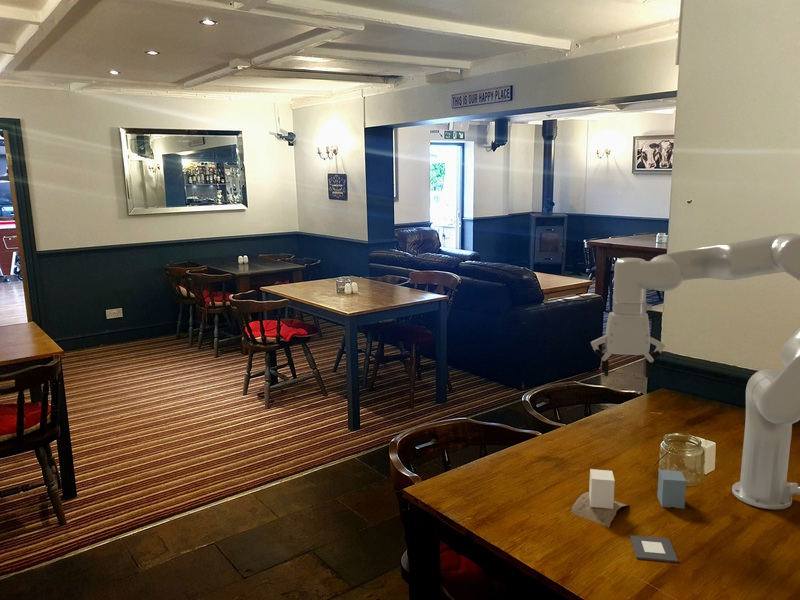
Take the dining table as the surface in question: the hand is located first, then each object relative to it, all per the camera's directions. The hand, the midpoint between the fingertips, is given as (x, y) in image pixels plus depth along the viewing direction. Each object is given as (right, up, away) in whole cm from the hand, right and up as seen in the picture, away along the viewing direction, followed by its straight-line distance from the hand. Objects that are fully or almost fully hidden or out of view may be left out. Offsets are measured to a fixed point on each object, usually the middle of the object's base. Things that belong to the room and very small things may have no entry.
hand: (625, 375), depth 155 cm
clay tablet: (-9, -32, -8) cm, 34 cm away
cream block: (-9, -29, -9) cm, 32 cm away
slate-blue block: (+9, -30, -6) cm, 32 cm away
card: (-3, -33, -25) cm, 42 cm away
